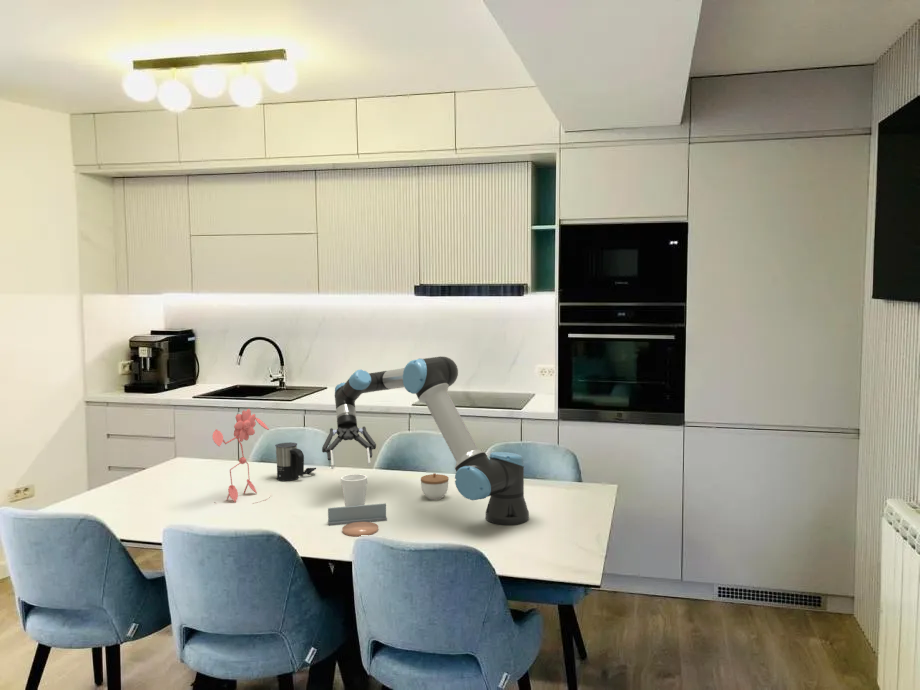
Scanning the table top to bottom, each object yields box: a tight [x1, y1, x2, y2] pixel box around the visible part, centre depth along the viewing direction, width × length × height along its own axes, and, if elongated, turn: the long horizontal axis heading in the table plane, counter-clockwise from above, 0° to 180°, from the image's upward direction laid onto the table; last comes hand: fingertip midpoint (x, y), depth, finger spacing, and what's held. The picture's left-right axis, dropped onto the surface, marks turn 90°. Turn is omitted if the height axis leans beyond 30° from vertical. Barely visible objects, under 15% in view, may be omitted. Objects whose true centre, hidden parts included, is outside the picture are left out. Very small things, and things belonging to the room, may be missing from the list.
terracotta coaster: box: [342, 522, 379, 537], centre depth 253 cm, size 12×12×1 cm
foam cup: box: [340, 473, 368, 507], centre depth 272 cm, size 10×9×13 cm
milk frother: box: [275, 442, 317, 482], centre depth 323 cm, size 14×16×15 cm
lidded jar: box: [420, 472, 449, 501], centre depth 290 cm, size 11×11×9 cm
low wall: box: [327, 502, 388, 526], centre depth 263 cm, size 20×4×5 cm, turn 103°
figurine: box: [212, 408, 272, 505], centre depth 290 cm, size 15×26×35 cm, turn 153°
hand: (350, 465), depth 281 cm, fingers open, 13 cm apart
